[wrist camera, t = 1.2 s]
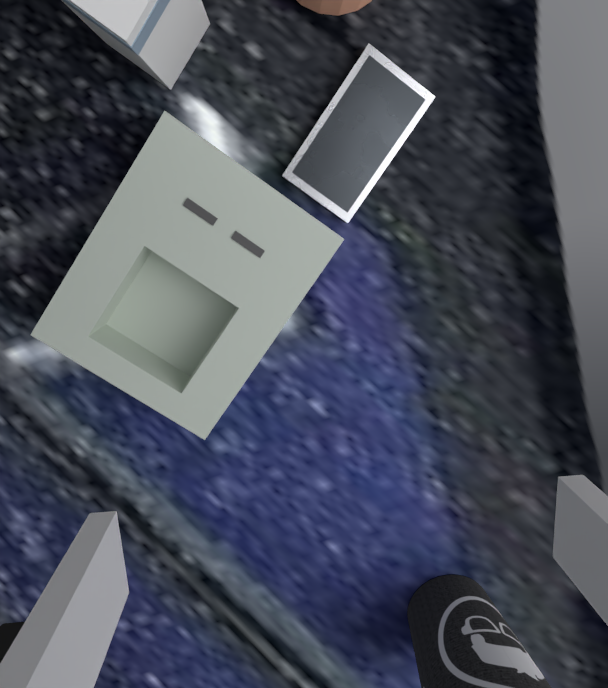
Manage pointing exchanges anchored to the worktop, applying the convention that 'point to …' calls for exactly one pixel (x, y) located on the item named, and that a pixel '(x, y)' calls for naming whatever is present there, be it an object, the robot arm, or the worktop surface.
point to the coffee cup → (466, 639)
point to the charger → (147, 31)
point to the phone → (358, 134)
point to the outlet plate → (185, 279)
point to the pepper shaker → (334, 6)
